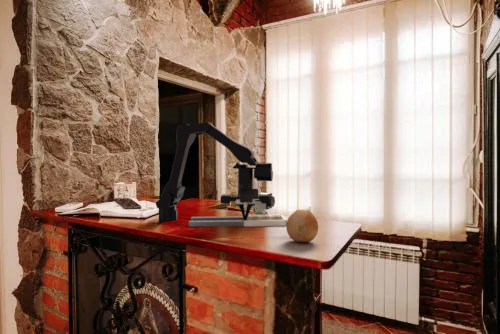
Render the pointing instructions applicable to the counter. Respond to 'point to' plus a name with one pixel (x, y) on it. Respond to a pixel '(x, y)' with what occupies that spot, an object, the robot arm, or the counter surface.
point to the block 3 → (274, 217)
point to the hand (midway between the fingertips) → (245, 221)
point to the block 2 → (264, 217)
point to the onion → (302, 226)
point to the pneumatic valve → (263, 204)
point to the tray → (266, 221)
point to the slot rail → (216, 221)
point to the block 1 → (253, 217)
